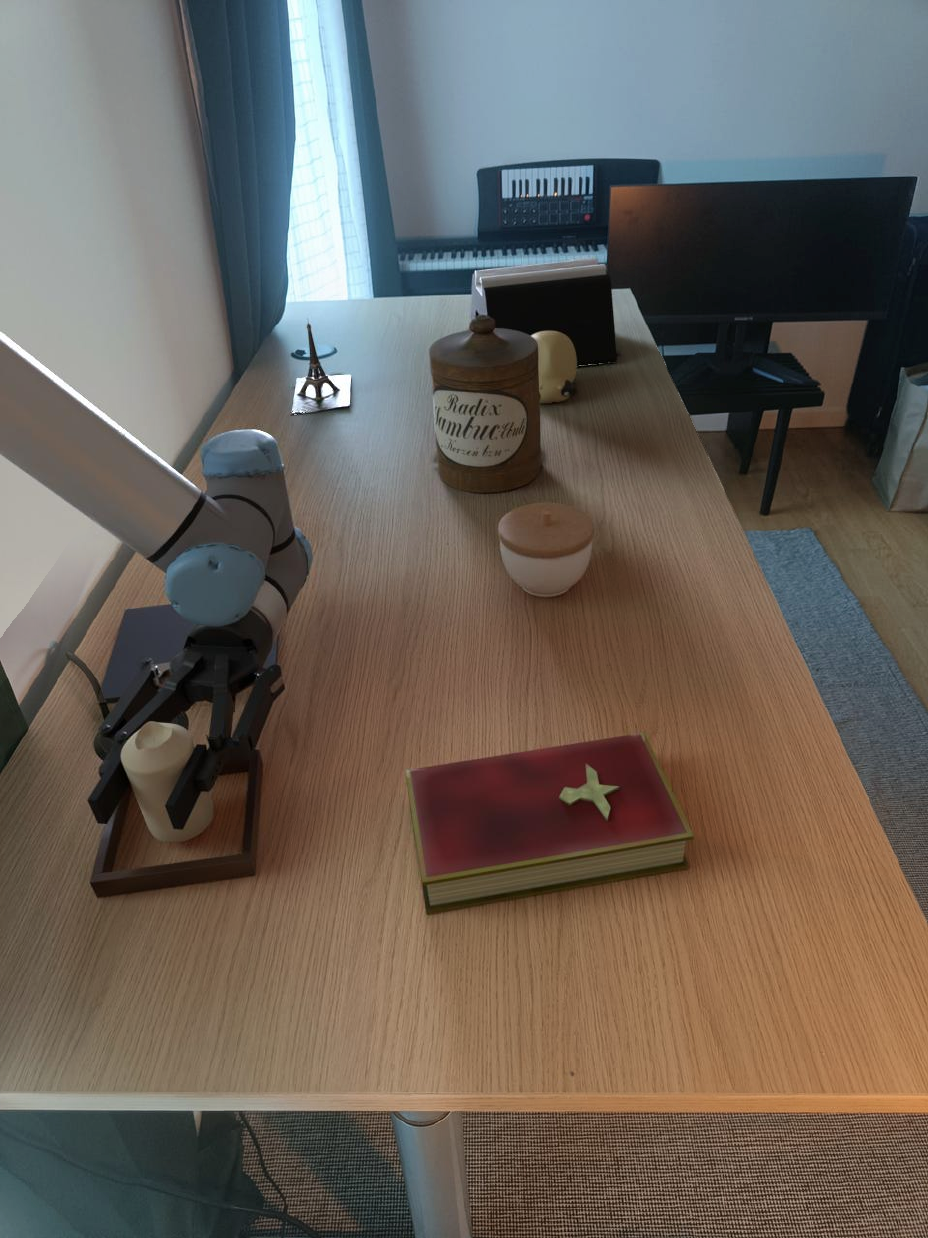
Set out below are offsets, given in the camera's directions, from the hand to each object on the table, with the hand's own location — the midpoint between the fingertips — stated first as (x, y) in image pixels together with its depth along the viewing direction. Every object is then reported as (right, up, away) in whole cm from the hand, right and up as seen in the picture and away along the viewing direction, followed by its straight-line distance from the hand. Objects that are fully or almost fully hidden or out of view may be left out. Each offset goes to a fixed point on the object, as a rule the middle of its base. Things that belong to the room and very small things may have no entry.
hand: (135, 814), depth 67 cm
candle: (+1, -2, +8) cm, 8 cm away
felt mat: (-4, +12, +29) cm, 32 cm away
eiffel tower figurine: (0, +54, +86) cm, 101 cm away
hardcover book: (+32, -3, +6) cm, 32 cm away
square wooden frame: (+1, -3, +9) cm, 9 cm away
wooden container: (+29, +36, +59) cm, 75 cm away
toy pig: (+39, +53, +80) cm, 104 cm away
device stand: (+39, +65, +98) cm, 124 cm away
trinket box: (+35, +19, +36) cm, 53 cm away
